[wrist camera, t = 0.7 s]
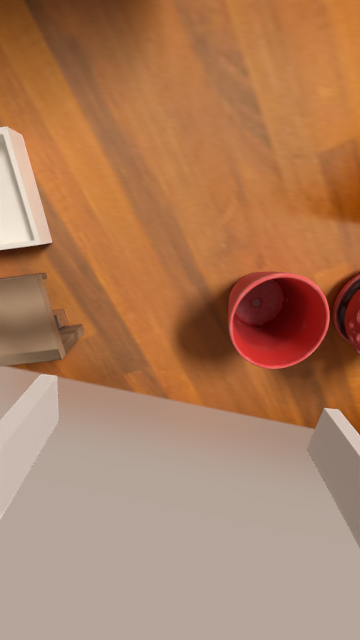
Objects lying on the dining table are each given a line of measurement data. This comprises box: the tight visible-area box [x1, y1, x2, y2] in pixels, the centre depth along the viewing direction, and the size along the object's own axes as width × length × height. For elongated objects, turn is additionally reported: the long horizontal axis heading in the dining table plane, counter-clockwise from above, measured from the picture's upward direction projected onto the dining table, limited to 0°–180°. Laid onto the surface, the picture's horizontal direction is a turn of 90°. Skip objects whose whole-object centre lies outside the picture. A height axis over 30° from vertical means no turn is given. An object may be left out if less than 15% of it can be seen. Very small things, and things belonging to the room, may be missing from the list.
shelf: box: [0, 273, 84, 366], centre depth 34 cm, size 10×12×8 cm
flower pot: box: [228, 272, 330, 369], centre depth 33 cm, size 11×11×10 cm
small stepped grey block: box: [52, 309, 67, 329], centre depth 37 cm, size 2×8×2 cm, turn 97°
